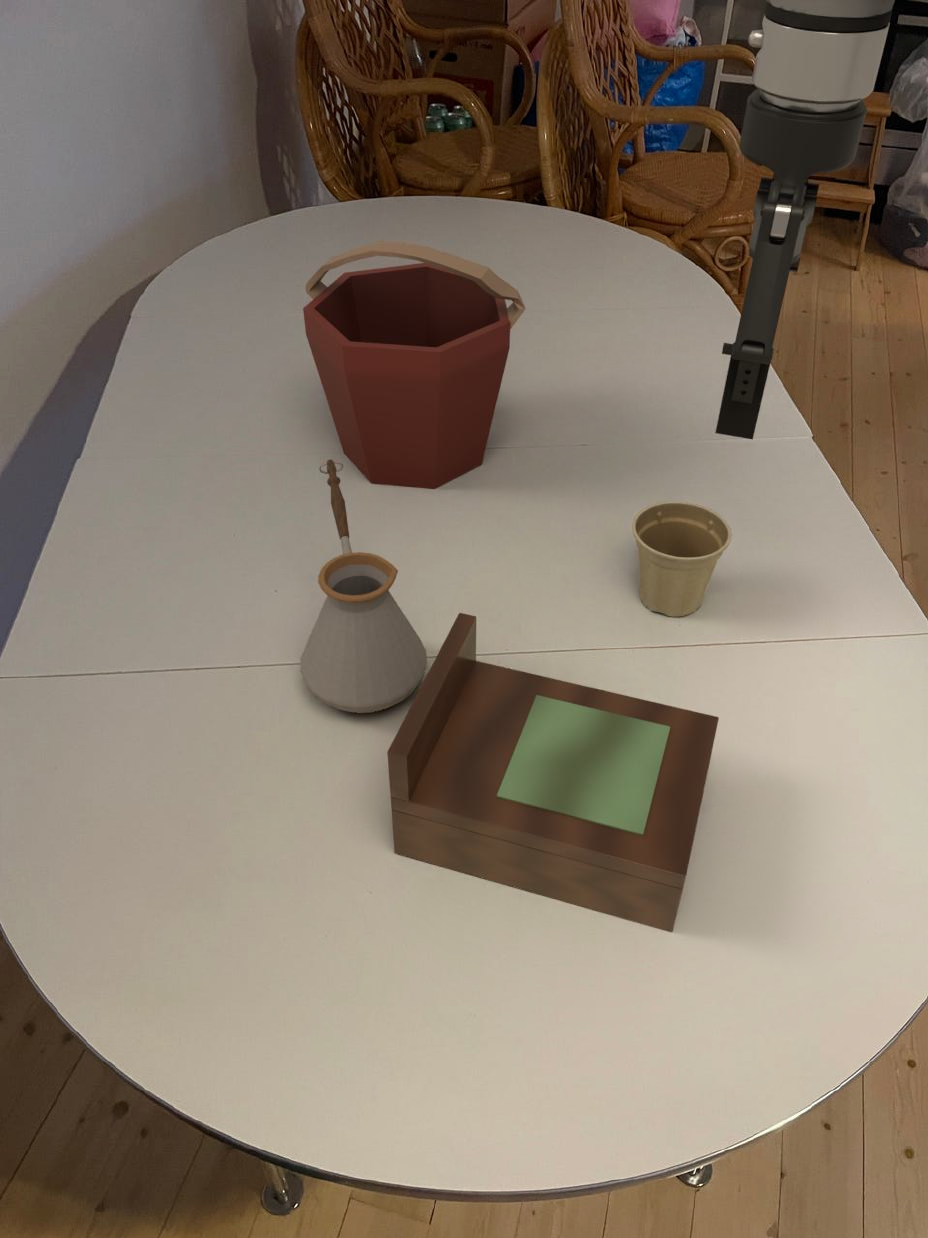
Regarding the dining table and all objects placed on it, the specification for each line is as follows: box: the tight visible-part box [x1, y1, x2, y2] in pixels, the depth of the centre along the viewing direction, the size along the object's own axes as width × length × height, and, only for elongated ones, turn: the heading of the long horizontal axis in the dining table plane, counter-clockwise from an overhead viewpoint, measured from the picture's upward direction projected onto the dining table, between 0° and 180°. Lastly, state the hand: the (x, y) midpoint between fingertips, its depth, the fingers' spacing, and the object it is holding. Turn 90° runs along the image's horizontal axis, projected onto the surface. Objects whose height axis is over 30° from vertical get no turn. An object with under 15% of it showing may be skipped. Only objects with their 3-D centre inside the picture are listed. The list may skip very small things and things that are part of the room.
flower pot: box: [631, 500, 733, 618], centre depth 103 cm, size 9×9×9 cm
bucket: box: [302, 240, 527, 490], centre depth 117 cm, size 24×22×25 cm
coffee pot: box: [299, 458, 428, 714], centre depth 95 cm, size 21×12×15 cm, turn 13°
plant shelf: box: [386, 612, 719, 933], centre depth 81 cm, size 22×16×12 cm
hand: (744, 389), depth 81 cm, fingers open, 13 cm apart
